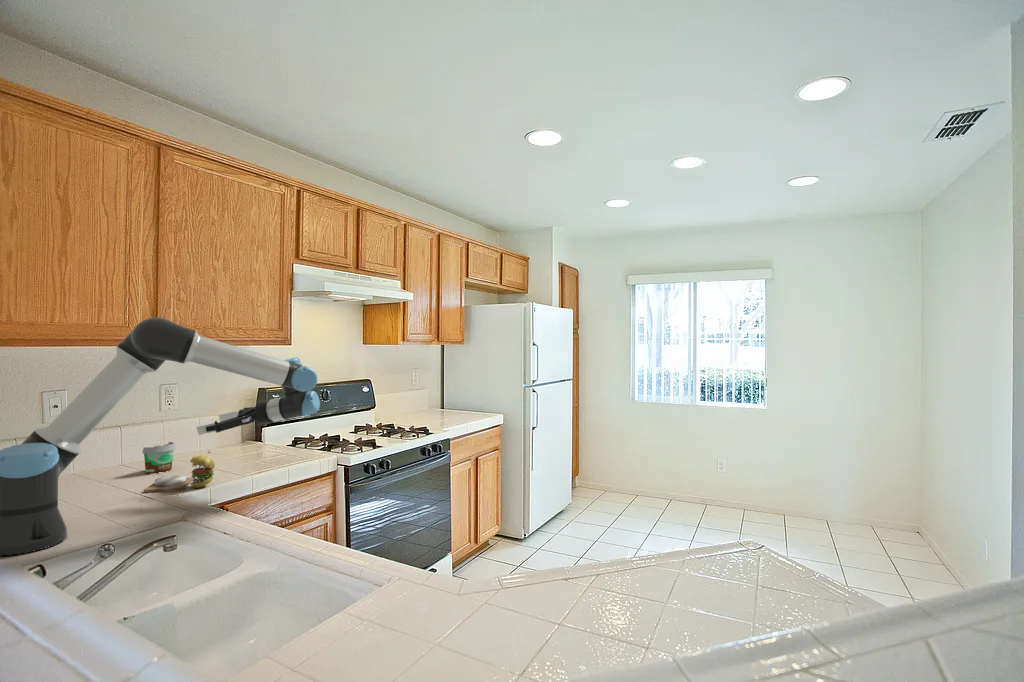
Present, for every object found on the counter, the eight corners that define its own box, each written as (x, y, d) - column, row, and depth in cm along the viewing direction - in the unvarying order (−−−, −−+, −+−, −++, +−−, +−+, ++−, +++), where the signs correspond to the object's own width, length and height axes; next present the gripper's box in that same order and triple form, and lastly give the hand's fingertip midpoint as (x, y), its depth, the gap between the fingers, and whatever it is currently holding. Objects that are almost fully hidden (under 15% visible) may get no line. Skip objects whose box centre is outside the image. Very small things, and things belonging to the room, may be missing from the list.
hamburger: (186, 486, 182) (186, 451, 182) (209, 482, 187) (210, 447, 187) (194, 490, 177) (194, 454, 177) (218, 486, 182) (218, 451, 182)
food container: (156, 475, 197) (156, 448, 197) (142, 474, 198) (142, 447, 198) (183, 468, 209) (183, 442, 209) (169, 467, 210) (169, 441, 210)
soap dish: (143, 493, 174) (143, 484, 174) (159, 482, 187) (159, 474, 188) (181, 490, 177) (181, 482, 177) (195, 480, 190) (195, 472, 190)
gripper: (257, 433, 167) (191, 447, 167) (289, 411, 192) (231, 423, 192) (250, 410, 166) (184, 424, 166) (283, 391, 190) (225, 403, 191)
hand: (209, 424), depth 179 cm, fingers open, 13 cm apart
